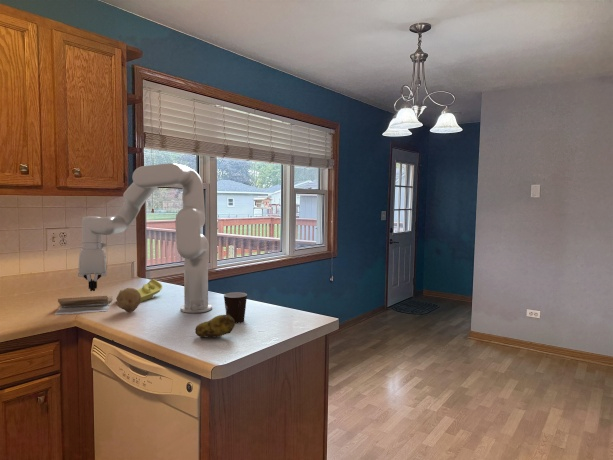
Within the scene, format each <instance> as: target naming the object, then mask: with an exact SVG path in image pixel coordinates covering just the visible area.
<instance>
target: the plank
mask: <svg viewBox="0 0 613 460" xmlns="http://www.w3.org/2000/svg"><path fill="white" fill-rule="evenodd" d="M108 297H109V296H108V295H97V296H94V295H93V296H82V297H81V296H80V297H63V298H61V297H60V298H57V303H59V305H60V307H61V306H62V307H63V306H78V305H93V304H108V303H109V299H108Z"/></svg>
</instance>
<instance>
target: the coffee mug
mask: <svg viewBox="0 0 613 460" xmlns="http://www.w3.org/2000/svg"><path fill="white" fill-rule="evenodd" d="M223 299H224V308H225V315H229V316H231V317H232V318H233V319H234V320H235V325H236V324H242V323H245V318H246V317H245V315H246V308H247V299H248V294H247V293H245V292H238V291H237V292H236V291H235V292H228V293H224V294H223Z"/></svg>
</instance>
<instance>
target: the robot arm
mask: <svg viewBox="0 0 613 460" xmlns="http://www.w3.org/2000/svg"><path fill="white" fill-rule="evenodd" d="M131 179H132V181H133V182H132V183H131V184H130V185H129V186H128V187H127V189H126V190H125V191H124V193H123V204H122V206H121V207H120V208H119V209H118V211H117V212H116V213H115V214H114V215H109V216H103V217H101V216H97V215H96V216H95V215H91V216H88V215H87V216H83V217H82V219H81V247H82V248H81V249H80V251H79V256H78V268H77V269H78V275H77V276H78V277H79V278H83V279H85V280H86V281H87V282H88V289H89V292H95V291H96V289H98V280H99V279H101V278H103V277H106V276H107V275H108V273H107V267H108V266H107V254H106V249H105V247H107V243H105V242H103V236H112V235H116V234H121V233H124V232H125V231H126V230H127V229H128V228H129V226H130V225H131V224H133V222H134V221H135V219H136V218H137V216H138V214H139V213H140V211H141V208H142V206H144V204H145V203H146V201H148V199H150V197H151V196H152V195H153V193H154V192H155V191H156V190H157V189H158V188H159V187H165V186H166V187H167V186H177V187H181V189H182V196H181V198H182V208H181V209H180V210H179V211H178V212H177V214H176V216H175V238H176V239H175V241H176V249H177V252H178V254H179V255H180V257H182V258H183V259H184V260H183V261H184V262H183V275H184V276H183V278H184V280H183V283H184V284H183V285H184V287H183V289H184V292H183V293H184V301H183V302H184V304H183V305H182V306H180V311H181V312H183V313H187V314H197V313H198V314H199V313H205V312H209V311H211V310H212V308H213V306H212V304H210V303H209V280H208V279H209V256H210V255H209V253H210V244H209V240H208V239H207V237H206V236H205V235H204V234H202V233H201V232H202V231H201V228H203V227H204V225H205V224H206V210H205V198H204V197H205V196H204V185H203V181H202V180H203V179H202V178H201V176H200V175H199V173H198V172H197V171H195V170H194V169H193V168H190V167H189V166H186V165H184V164H178V163H174V162H170V163H160V164H152V165H143V166H139V167H136V169H135V170H134V171H133V172H132V177H131ZM92 275H94V278H92Z"/></svg>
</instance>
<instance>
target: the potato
mask: <svg viewBox="0 0 613 460" xmlns="http://www.w3.org/2000/svg"><path fill="white" fill-rule="evenodd" d="M235 325H236V324H235V320H234V319H233V318H232V317H231V316H229V315H226V314H219V315H217V316H214V317H213V318H211V319H209V320H208V321H204V322H201V323H199V324H197V325H196V327H195V329H194V330H195V331H194V332H195V333H194V334H195V335H196V336H198V337H200V338H213V339H214V338H220V337H222V336H224V335H229V334H231V333H232V331H233V330H234V327H235Z"/></svg>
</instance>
